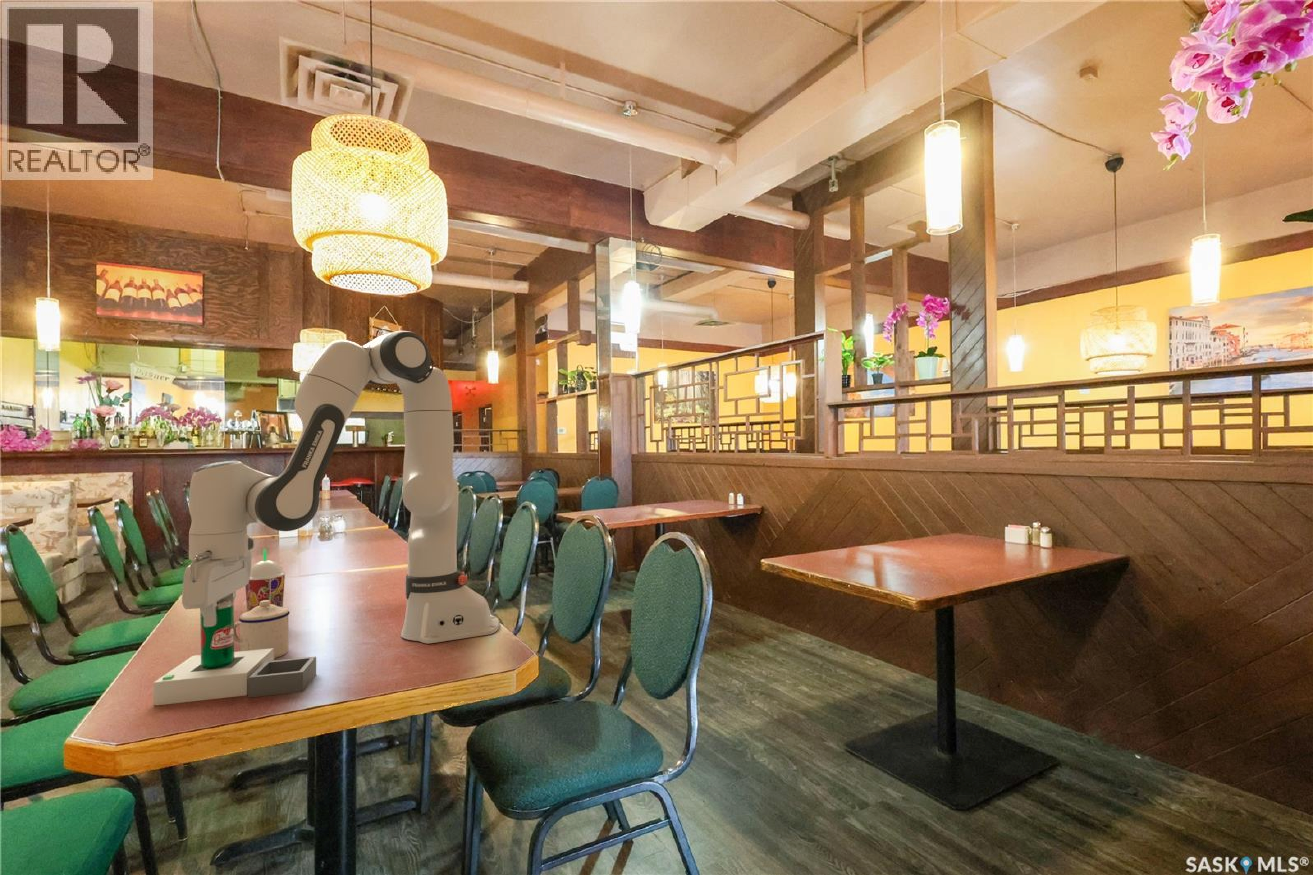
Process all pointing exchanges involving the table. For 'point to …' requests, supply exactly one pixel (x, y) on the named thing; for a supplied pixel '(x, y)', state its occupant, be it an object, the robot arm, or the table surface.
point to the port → (209, 678)
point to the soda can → (218, 638)
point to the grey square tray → (282, 676)
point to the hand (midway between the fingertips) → (218, 621)
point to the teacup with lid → (264, 629)
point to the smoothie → (265, 583)
